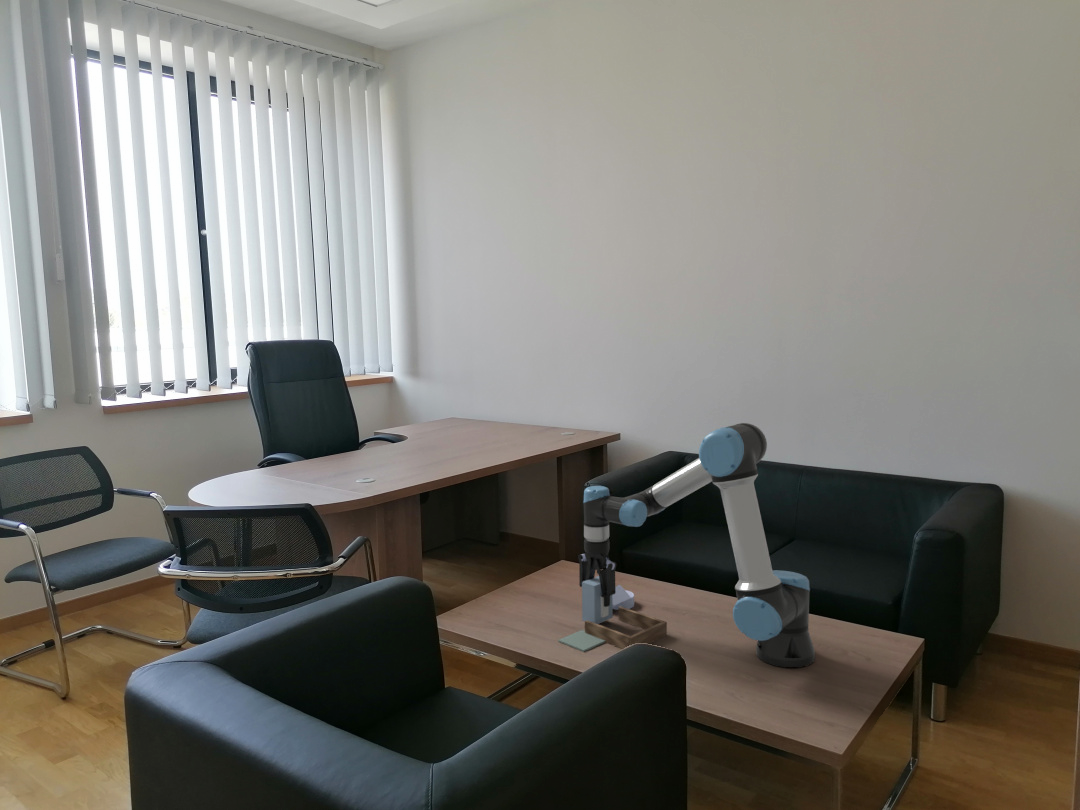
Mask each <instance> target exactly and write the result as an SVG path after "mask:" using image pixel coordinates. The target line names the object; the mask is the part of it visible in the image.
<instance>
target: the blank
mask: <svg viewBox="0 0 1080 810" xmlns="http://www.w3.org/2000/svg"><path fill="white" fill-rule="evenodd" d="M606 592H607V591H606ZM601 595H603V594H602V589H601V584H600V579H599V575H597V576H594V578H592V579H590V580H586V581H583V582H582V587H581V605H582V606H581V609H582V610H581V612H582V613H581V614H582V617H581V619H582V621H583V622H585V621H587V620H588V621H590V622H593V623H596V624H599V625H600V623H604V622H606V621H607V620H608V621H609V620H611V619H613V618H614V617H613V616H614V615H613V610H614V609H613V599H612V595H611V596H610V606H608V608H609V615H608V616H605V617H603V618H602V617H601V598H600V596H601Z"/></svg>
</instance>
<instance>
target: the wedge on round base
mask: <svg viewBox="0 0 1080 810" xmlns="http://www.w3.org/2000/svg"><path fill="white" fill-rule="evenodd" d="M615 590H616V593H615V594H613V595H612V599H613V610H617V611H619V607H624V608H627V609H630V610H631V609H633V608H634V607H635V594H634V593H633V592H632V591H630V590H626V589H625V588H624V587H623V586H622V585H621V584H618V585H615Z"/></svg>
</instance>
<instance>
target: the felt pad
mask: <svg viewBox="0 0 1080 810" xmlns="http://www.w3.org/2000/svg"><path fill="white" fill-rule="evenodd" d="M557 641H558V642H559V643H560V644H563V645H565V646H568V647H570V648H573V649H575V650H578V651H581V652H582V653H584V652H586V651H590V650H592V649H593V648H595V647H598V646H600V645H603V644H605V643H606V642H605V640H603V639H600V638H597V637H595V636H592V635H590V634H587V633H585V629H580V630H579V631H576V632H574V633H572V634H569V635H566V636H565V637H562V638H559V639H558V640H557Z"/></svg>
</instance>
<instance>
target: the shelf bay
mask: <svg viewBox="0 0 1080 810" xmlns="http://www.w3.org/2000/svg"><path fill="white" fill-rule="evenodd" d="M618 621H620V622H622V623H623V622H624V623H626V624H629V625H632V626H635V627H637V628H640V629H642V630H641V631H638V632H636V633H635V634H632V635H628V634H625V633H623V632H620V631H618V630H614V629H612V628H610V627H606V626H605V625H602V624H600V623H599V624H596V623H593V622H590V621H588V620H587V621H584V631H585V633H587V634H590V635H592V636H595V637H597V638H600V639H603V640H605V643H606V644H609V645H611V646H614V647H617V648H619V649H622V650H624V649H623V648H625V647H627V646H629V645H632V644H635V643H649V644H651V643H653V642H655V641H657V640H660V639H662V638H664V637H665V636H667V635H668V634H667V633H668V631H667V630H668V627H667V625H668V623H667V621H665V620H662V619H660V618H659V619H658V618H656V617H653V616H650V615H647V614H644V613H641V612H638V611H635V610H633V609H631V608H630V609H627V608H624V607H619V610H618Z"/></svg>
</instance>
